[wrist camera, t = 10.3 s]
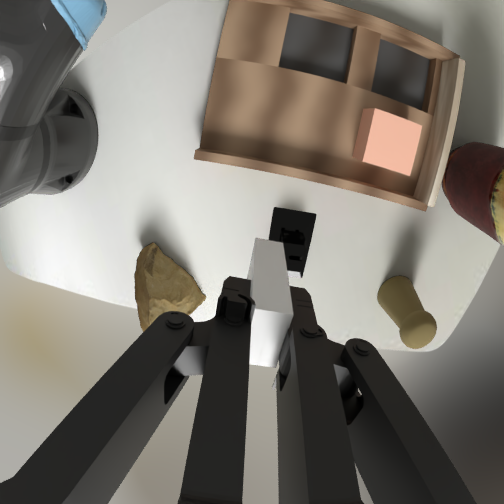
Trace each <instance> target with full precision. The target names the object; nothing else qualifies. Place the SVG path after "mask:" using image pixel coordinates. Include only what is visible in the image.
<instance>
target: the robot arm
mask: <svg viewBox="0 0 504 504" xmlns="http://www.w3.org/2000/svg"><path fill="white" fill-rule="evenodd" d="M106 12H107V6H106V2H105V1H104V0H0V208H1V207H3V206H5V205H7V204H8V203H10V202H12V201H14V200H16V199H18V198H20V197H23V196H25V195H27V194H46V195H52V194H58V193H61V192H64V191H66V190H68V189H70V188H72V187H74V186H75V185H77V184H78V183H79V182H80V181H81V180H82V179H83V178H84V177H85V176H86V174H87V173H88V171H89V170H90V168H91V166H92V164H93V161H94V158H95V155H96V150H97V144H98V130H97V123H96V119H95V116H94V113H93V111H92V109H91V107H90V105H89V104H88V102H87V101H86V100H85V99H84V98H83V97H82V96H81V95H80V94H78V93H77V92H75V91H72V90H69V89H59V87H60V86H61V84H62V82H63V81H64V79H65V77H66V76H67V74H68V73H69V71H70V69H71V68H72V66H73V65H74V63H75V62H76V60H77V59H78V57H79V55H80V54H81V53H82V51H83V50H86V48H87V43H88V42H89V40H90V39H91V37H92V35H93V34H94V33H95V31H96V30H97V28H98V27H99V25H100V24H101V23H102V21H103V20H104V18H105V15H106ZM278 360H279V370H278V372H277V375H276V378H275V380H274V383H273V386H272V389H275V387H276V388H277V424H278V472H279V473H278V477H279V504H364V503H363V502H362V500H361V497H360V492H359V486H358V480H357V474H356V469H355V464H356V466H357V468H358V471H359V473H360V475H361V477H362V479H363V481H364V483H365V485H366V488H367V490H368V492H369V494H370V496H371V498H372V501H373V503H374V504H476V502H475V500H474V499H473V497H472V495H471V494H470V492H469V490H468V489H467V487H466V485H465V484H464V482H463V480H462V478H461V477H460V475H459V474H458V472H457V470H456V469H455V467H454V465H453V464H452V462H451V461H450V459H449V457H448V456H447V454H446V453H445V451H444V449H443V448H442V446H441V445H440V443H439V442H438V440H437V438H436V437H435V436H434V434H433V432H432V431H431V429H430V428H429V426H428V425H427V423H426V421H425V420H424V418H423V417H422V415H421V414H420V413H419V411H418V409H417V408H416V407H415V405H414V403H413V402H412V400H411V399H410V398H409V396H408V395H407V393H406V391H405V390H404V389H403V387H402V386H401V384H400V383H399V381H398V380H397V379H396V377H395V375H394V374H393V373H392V371H391V370H390V368H389V367H388V366H387V364H386V362H385V361H384V360H383V358H382V357H381V355H380V354H379V353H378V351H377V350H376V348H375V347H374V346H373V345H372V344H371V343H369V342H367V341H366V340H363V339H358V338H353V339H349V340H348V341H347V342H346V344H345V345H342V344H339V343H336V342H333V341H331V340H329V339H327V335H326V333H325V331H324V329H322V328H321V327H320V326H319V325H317V321H316V316H315V312H314V309H313V304H312V299H311V295H310V294H309V293H308V292H307V290H306V289H305V288H299V287H293V286H289V280H288V273H287V266H286V259H285V253H284V246H283V243H281V242H276V241H270V240H265V239H260V238H255V243H254V248H253V253H252V258H251V263H250V267H249V272H248V277H247V279H242V278H237V277H231V276H229V277H228V278H227V279H226V280H225V281H224V283H223V288H222V292H221V295H220V296H219V298H218V303H217V309H216V316H215V317H214V318H212V319H211V320H208V321H205V322H194V321H193V319H192V318H191V317H190V316H189V315H187V314H185V313H183V312H179V311H168V312H164V313H162V314H161V315H159V316H158V317H157V318H156V319H155V320H154V322H153V323H152V324H151V325H150V326H149V327H148V328H147V329H146V330H145V331H144V332H143V333H142V334H141V335H140V336H139V338H138V339H137V340H136V341H135V342H134V343H133V344H132V345H131V346H130V347H129V348H128V349H127V351H125V353H124V354H123V355H122V356H121V357H120V358H119V359H118V360H117V361H116V362H115V363H114V365H113V366H112V367H111V368H110V369H109V370H108V371H107V372H106V373H105V374H104V375H103V376H102V377H101V378H100V380H99V381H98V382H97V383H96V384H95V385H94V386H93V387H92V388H91V389H90V391H89V392H88V393H87V394H86V395H85V396H84V397H83V398H82V399H81V400H80V402H79V403H78V404H77V405H76V406H75V407H74V408H73V409H72V411H71V412H70V413H69V414H68V415H67V416H66V417H65V418H64V419H63V421H62V422H61V423H60V424H59V425H58V426H57V427H56V428H55V430H54V431H53V432H52V433H51V434H50V435H49V436H48V438H47V439H46V440H45V441H44V442H43V443H42V444H41V445H40V447H39V448H38V449H37V450H36V451H35V452H34V454H33V455H32V456H31V457H30V458H29V459H28V460H27V462H26V463H25V464H24V465H23V466H22V467H21V469H20V470H19V471H18V472H17V473H16V474H15V476H14V477H12V478H10V479H8V480H6V481H4V482H2V483H0V504H108V502H109V501H110V499H111V498H112V496H113V495H114V493H115V492H116V490H117V489H118V487H119V486H120V484H121V483H122V481H123V480H124V478H125V477H126V475H127V473H128V472H129V470H130V469H131V467H132V466H133V464H134V463H135V461H136V460H137V458H138V457H139V455H140V454H141V452H142V450H143V449H144V447H145V446H146V444H147V443H148V441H149V440H150V438H151V436H152V435H153V433H154V432H155V430H156V429H157V427H158V425H159V424H160V422H161V421H162V419H163V418H164V416H165V415H166V413H167V411H168V410H169V408H170V407H171V405H172V403H173V402H174V400H175V399H176V397H177V396H178V394H179V393H180V391H181V389H182V388H183V386H184V385H185V383H186V381H187V380H188V378H189V375H203V378H202V383H201V388H200V393H199V399H198V403H197V408H196V413H195V419H194V424H193V429H192V434H191V440H190V444H189V450H188V456H187V460H186V466H185V471H184V477H183V483H182V488H181V493H180V497H179V500H178V504H242V493H243V475H244V474H243V473H244V456H245V436H246V418H247V400H248V381H249V380H248V379H249V364H253V365H260V366H267V367H275V368H276V366H277V362H278ZM358 388H359V390H360V391H361V393H362V395H360V393H359V392H358ZM354 462H355V463H354Z"/></svg>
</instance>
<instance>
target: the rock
mask: <svg viewBox="0 0 504 504" xmlns="http://www.w3.org/2000/svg"><path fill="white" fill-rule="evenodd" d="M134 278H135V300H136V303H137V307H138V314H139V319H140V326H141V328H142V330H143V332H144V331H145V330H146V329H147V328H148V327H149V326H150V325H151V324H152V323H153V322H154V320H155V319H156V318H157V317H158V316H159V315H161V314H162V313H164V312H168V311H179V312H183V313H185V314H187V315H190V314H191V313H192V312H193V311H194V310H195V309H196V308H197V307H198V306H199V305H201V304H202V302H203V301H205V299H206V296H205V295H203V294H202V292H201V291H200V289H199V288H198V286H197V283H196V282H195V281H194V278H193V277H191V276H190V275H189V274H188V273H187V272H186V270H184V269H183V268H181V267H180V266H179V265H177V264H176V263H175V262H173V260H172V259H170V258H169V257H167V256H166V255H164V254H163V253H162V251H161V250H160V249H159V247H158V246H157V245H156V244H155V243H151V244H150V245H148V246H146V247H144V248H143V249H142V251H141V252H140V254H139V256H138V258H137V265H136V271H135V277H134Z"/></svg>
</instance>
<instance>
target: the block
mask: <svg viewBox="0 0 504 504" xmlns="http://www.w3.org/2000/svg"><path fill="white" fill-rule="evenodd" d="M421 130H422V126H421V125H419V124H417V123H414V122H412V121H409V120H406V119H404V118H401V117H399V116H396V115H393V114H390V113H388V112H385V111H382V110H379V109H376V108H368V109H363V113H362V117H361V122H360V126H359V130H358V135H357V139H356V143H355V148H354V152H353V156H352V157H354V158H356V159H358V160H360V161H363V162H366V163H370V164H373V165H376V166H380V167H383V168H386V169H389V170H392V171H396V172H399V173H402V174H405V175H408V176H410V174H411V170H412V167H413V163H414V159H415V155H416V151H417V147H418V143H419V139H420V134H421Z"/></svg>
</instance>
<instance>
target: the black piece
mask: <svg viewBox="0 0 504 504" xmlns="http://www.w3.org/2000/svg"><path fill="white" fill-rule="evenodd" d="M315 220H316V214H314V213H308V212H302V211H296V210H290V209H284V208H278V207H274V209H273V216H272V222H271V228H270V234H269V240H270V241H276V242H281V243H283V246H284V253H285V259H286V266H287V273H288V276H289V277H298V278H302V276H303V272H304V268H305V264H306V260H307V255H308V251H309V247H310V242H311V238H312V233H313V229H314V224H315Z"/></svg>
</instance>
